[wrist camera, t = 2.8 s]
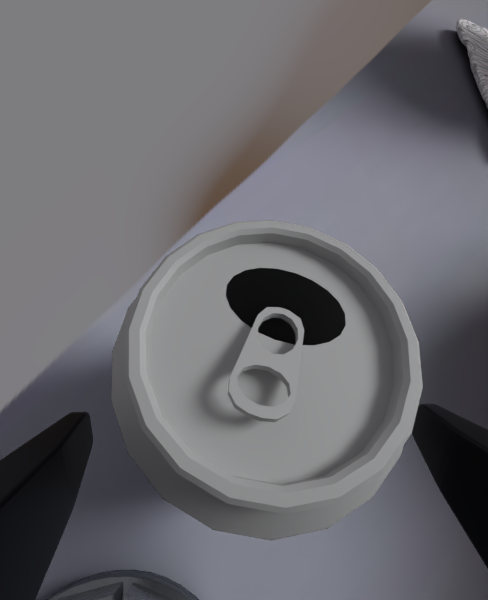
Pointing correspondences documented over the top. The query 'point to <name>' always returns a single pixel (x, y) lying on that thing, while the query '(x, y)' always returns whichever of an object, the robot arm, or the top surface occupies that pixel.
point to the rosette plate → (124, 587)
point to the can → (266, 379)
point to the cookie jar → (476, 52)
